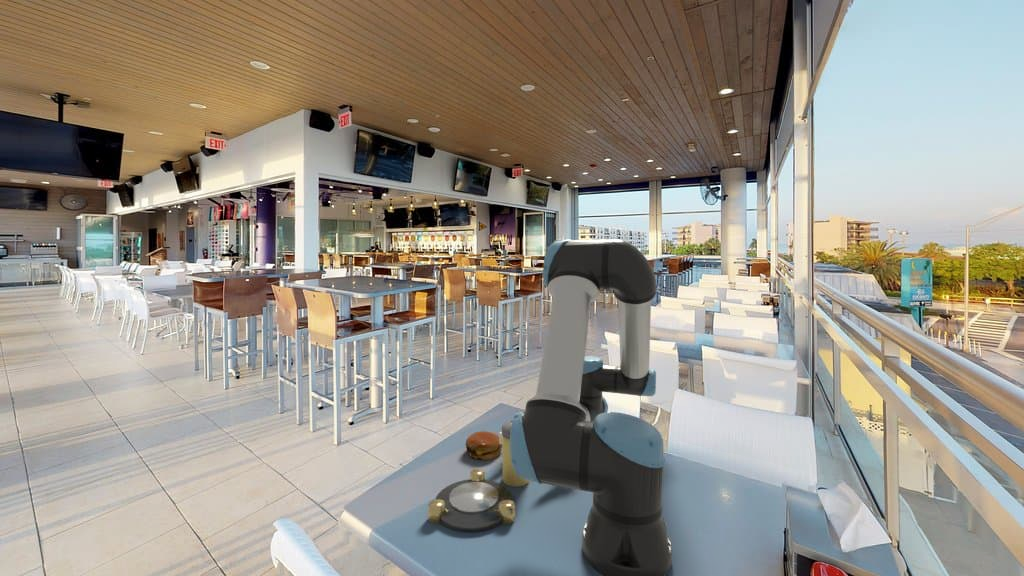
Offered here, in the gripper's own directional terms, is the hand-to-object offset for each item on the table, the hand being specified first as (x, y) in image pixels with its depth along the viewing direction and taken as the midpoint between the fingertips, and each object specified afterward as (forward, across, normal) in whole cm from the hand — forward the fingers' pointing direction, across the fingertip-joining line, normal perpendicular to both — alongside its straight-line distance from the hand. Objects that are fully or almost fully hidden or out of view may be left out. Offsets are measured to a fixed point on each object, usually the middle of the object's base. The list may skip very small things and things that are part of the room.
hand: (521, 446), depth 98 cm
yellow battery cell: (+2, 0, -7) cm, 7 cm away
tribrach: (+16, -1, -7) cm, 17 cm away
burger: (-2, +15, -7) cm, 17 cm away
